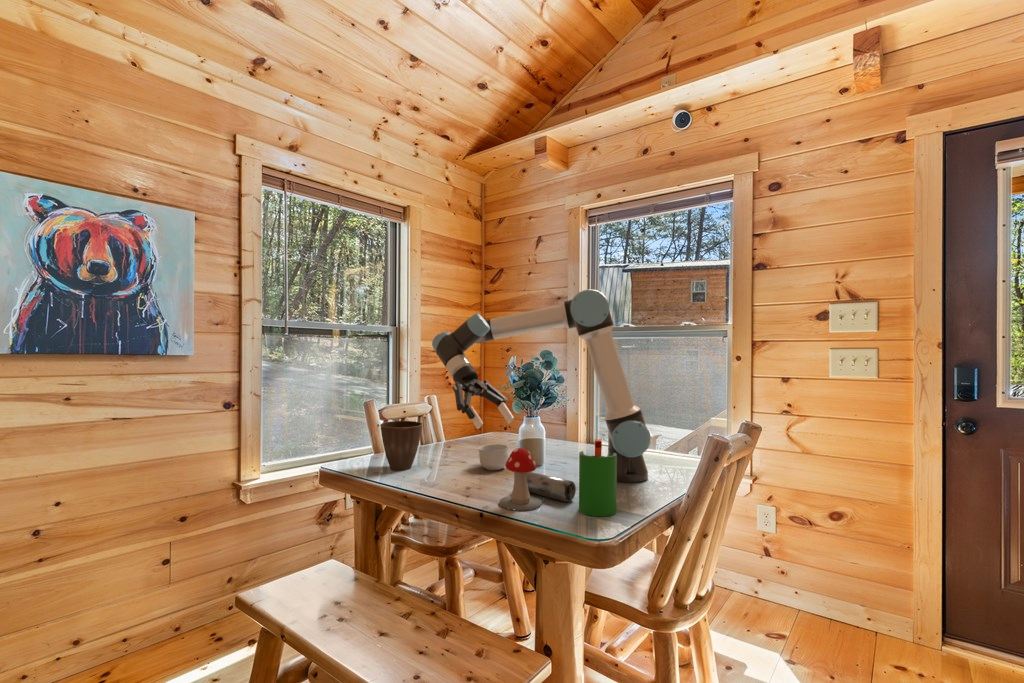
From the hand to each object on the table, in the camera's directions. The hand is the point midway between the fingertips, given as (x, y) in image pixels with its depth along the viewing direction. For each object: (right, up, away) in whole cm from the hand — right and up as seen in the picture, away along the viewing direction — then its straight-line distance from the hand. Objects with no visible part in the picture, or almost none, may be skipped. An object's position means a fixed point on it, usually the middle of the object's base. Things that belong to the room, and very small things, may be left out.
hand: (496, 423), depth 158 cm
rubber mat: (+7, -21, -10) cm, 25 cm away
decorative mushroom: (+7, -21, -10) cm, 24 cm away
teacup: (-2, -21, +33) cm, 39 cm away
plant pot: (-35, -21, +31) cm, 52 cm away
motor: (+28, -22, -16) cm, 39 cm away
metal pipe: (+15, -21, -2) cm, 26 cm away
